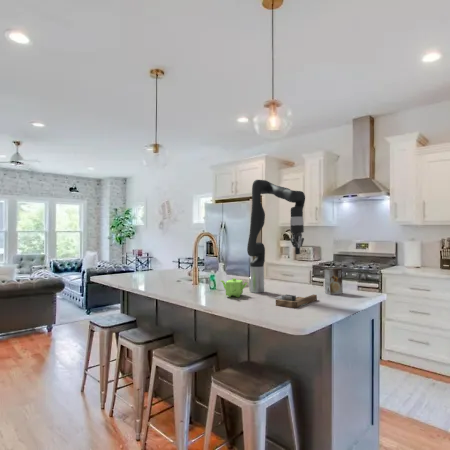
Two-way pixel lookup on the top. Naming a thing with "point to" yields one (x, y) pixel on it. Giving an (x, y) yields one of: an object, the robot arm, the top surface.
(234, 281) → the kettle
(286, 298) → the clip
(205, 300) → the top surface
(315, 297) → the wooden tray
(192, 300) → the top surface
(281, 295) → the grey concrete tile
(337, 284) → the coffee box
